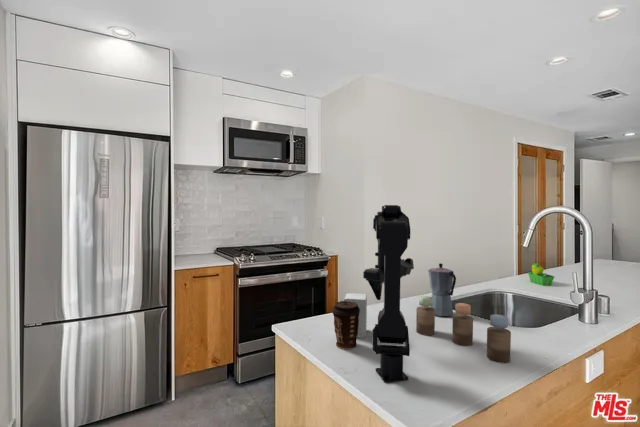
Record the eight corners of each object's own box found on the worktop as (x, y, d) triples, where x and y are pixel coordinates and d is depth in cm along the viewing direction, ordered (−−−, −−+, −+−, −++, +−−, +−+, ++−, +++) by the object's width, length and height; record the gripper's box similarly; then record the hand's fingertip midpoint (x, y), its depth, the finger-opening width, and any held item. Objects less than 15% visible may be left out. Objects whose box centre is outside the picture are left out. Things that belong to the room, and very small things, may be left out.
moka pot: (438, 307, 144) (439, 260, 143) (466, 318, 130) (467, 266, 129) (420, 309, 140) (420, 261, 140) (446, 322, 126) (447, 268, 125)
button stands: (517, 356, 98) (518, 329, 98) (504, 365, 93) (505, 336, 93) (427, 326, 122) (427, 304, 122) (412, 331, 117) (412, 308, 117)
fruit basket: (555, 285, 181) (556, 264, 180) (540, 286, 180) (541, 265, 179) (538, 280, 192) (539, 261, 192) (524, 281, 191) (525, 261, 190)
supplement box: (365, 337, 111) (365, 299, 111) (343, 336, 113) (343, 298, 112) (367, 329, 118) (367, 293, 118) (346, 328, 120) (346, 292, 120)
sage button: (435, 306, 114) (435, 299, 114) (423, 307, 113) (423, 299, 113) (428, 302, 119) (428, 295, 119) (416, 303, 118) (416, 296, 118)
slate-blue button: (511, 327, 95) (511, 319, 95) (497, 328, 94) (498, 320, 94) (499, 322, 99) (500, 314, 99) (486, 323, 98) (487, 315, 98)
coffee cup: (343, 337, 112) (343, 298, 111) (365, 344, 106) (365, 303, 106) (327, 346, 105) (327, 304, 104) (349, 353, 100) (349, 310, 99)
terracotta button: (473, 314, 106) (473, 306, 106) (461, 315, 105) (461, 307, 105) (464, 310, 110) (464, 302, 110) (452, 310, 109) (452, 303, 109)
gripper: (393, 255, 99) (393, 308, 99) (422, 249, 113) (422, 295, 113) (362, 251, 106) (362, 301, 107) (392, 246, 120) (392, 290, 121)
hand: (386, 297), depth 112 cm, fingers open, 9 cm apart
